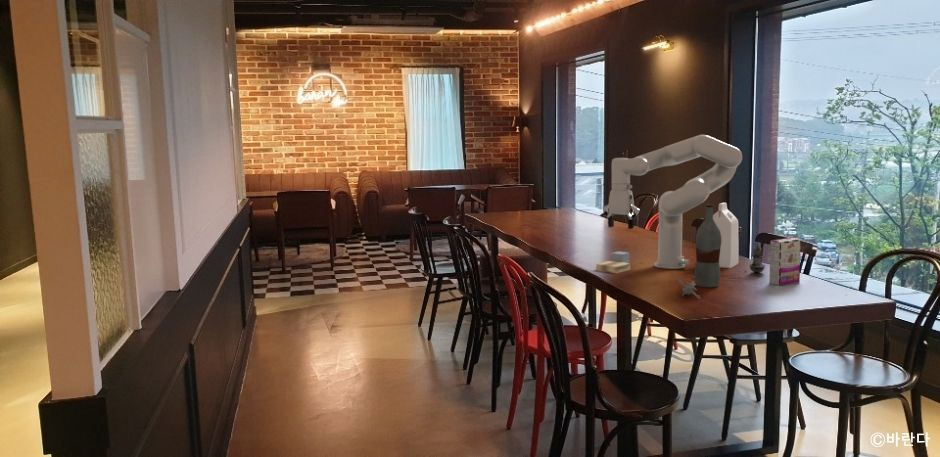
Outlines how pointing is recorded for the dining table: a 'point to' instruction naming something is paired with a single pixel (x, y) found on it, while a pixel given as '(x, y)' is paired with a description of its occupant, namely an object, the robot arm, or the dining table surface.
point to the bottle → (708, 251)
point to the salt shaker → (757, 263)
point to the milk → (727, 236)
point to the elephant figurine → (688, 288)
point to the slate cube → (620, 257)
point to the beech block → (613, 266)
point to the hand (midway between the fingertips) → (620, 227)
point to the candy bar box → (785, 261)
